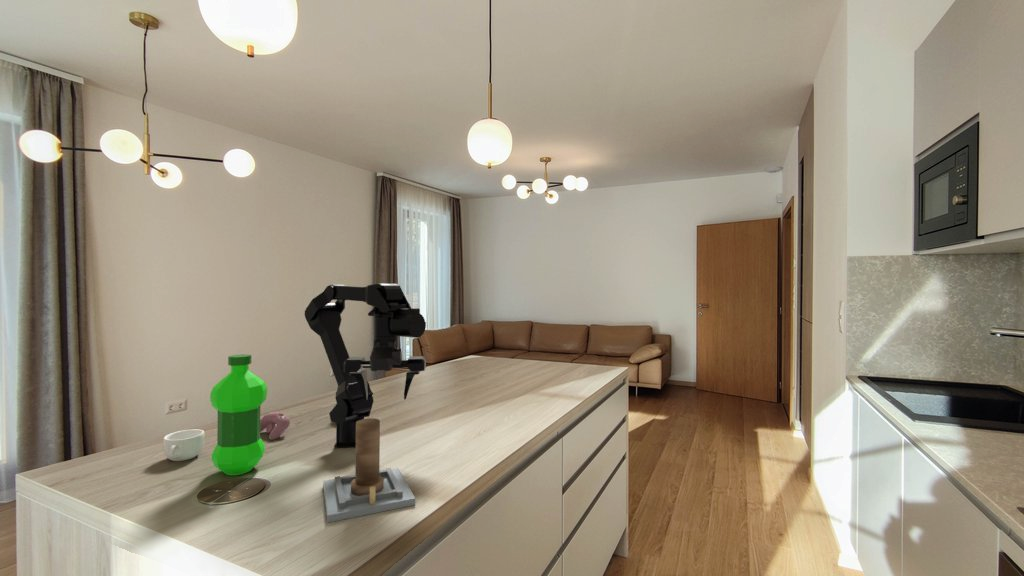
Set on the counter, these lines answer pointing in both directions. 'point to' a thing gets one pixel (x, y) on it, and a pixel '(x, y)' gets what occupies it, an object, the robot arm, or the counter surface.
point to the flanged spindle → (367, 458)
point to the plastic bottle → (238, 418)
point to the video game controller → (271, 420)
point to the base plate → (366, 496)
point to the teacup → (183, 444)
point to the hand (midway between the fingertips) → (385, 399)
